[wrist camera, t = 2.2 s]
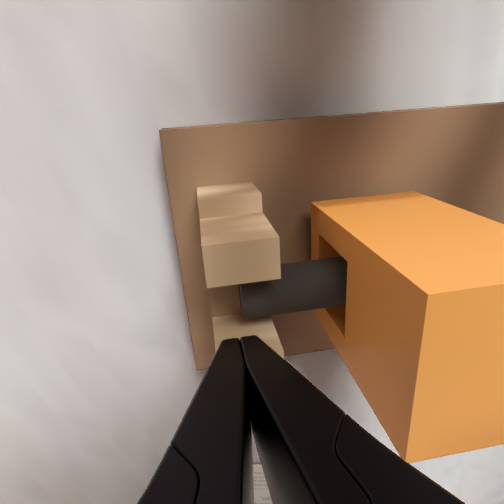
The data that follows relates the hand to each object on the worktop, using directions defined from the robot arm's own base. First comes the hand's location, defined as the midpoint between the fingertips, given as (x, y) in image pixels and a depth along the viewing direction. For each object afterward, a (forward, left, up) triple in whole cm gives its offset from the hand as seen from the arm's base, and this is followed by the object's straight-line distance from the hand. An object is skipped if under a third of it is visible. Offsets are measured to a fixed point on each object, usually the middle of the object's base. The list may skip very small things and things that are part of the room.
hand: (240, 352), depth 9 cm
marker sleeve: (-5, 0, -5) cm, 7 cm away
